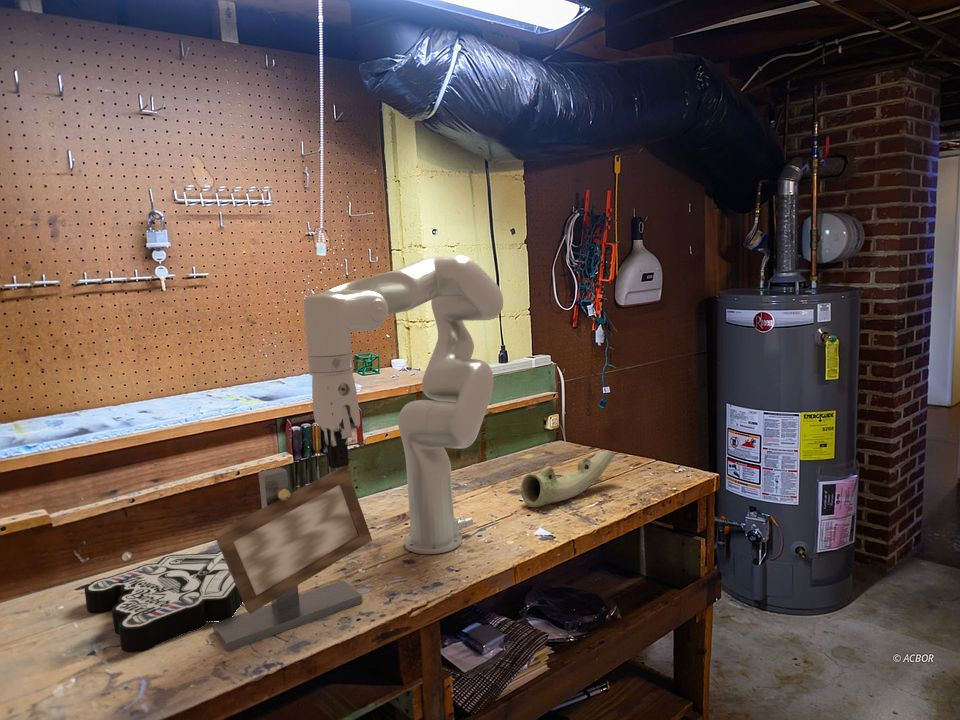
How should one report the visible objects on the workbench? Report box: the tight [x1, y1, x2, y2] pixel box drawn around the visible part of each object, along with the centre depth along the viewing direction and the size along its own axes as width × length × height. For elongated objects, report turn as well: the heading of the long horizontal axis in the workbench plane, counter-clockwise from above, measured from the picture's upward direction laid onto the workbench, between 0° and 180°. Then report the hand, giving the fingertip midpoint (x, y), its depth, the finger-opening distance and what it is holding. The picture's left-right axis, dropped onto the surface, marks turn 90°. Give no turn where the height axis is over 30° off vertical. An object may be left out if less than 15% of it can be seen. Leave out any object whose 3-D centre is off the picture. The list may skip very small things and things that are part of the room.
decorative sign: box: [84, 549, 243, 654], centre depth 129 cm, size 28×4×30 cm
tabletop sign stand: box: [212, 467, 363, 652], centre depth 118 cm, size 24×8×26 cm, turn 126°
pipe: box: [520, 450, 616, 508], centre depth 174 cm, size 28×8×10 cm, turn 130°
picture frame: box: [213, 466, 373, 614], centre depth 119 cm, size 24×2×15 cm, turn 126°
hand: (338, 465), depth 122 cm, fingers closed
